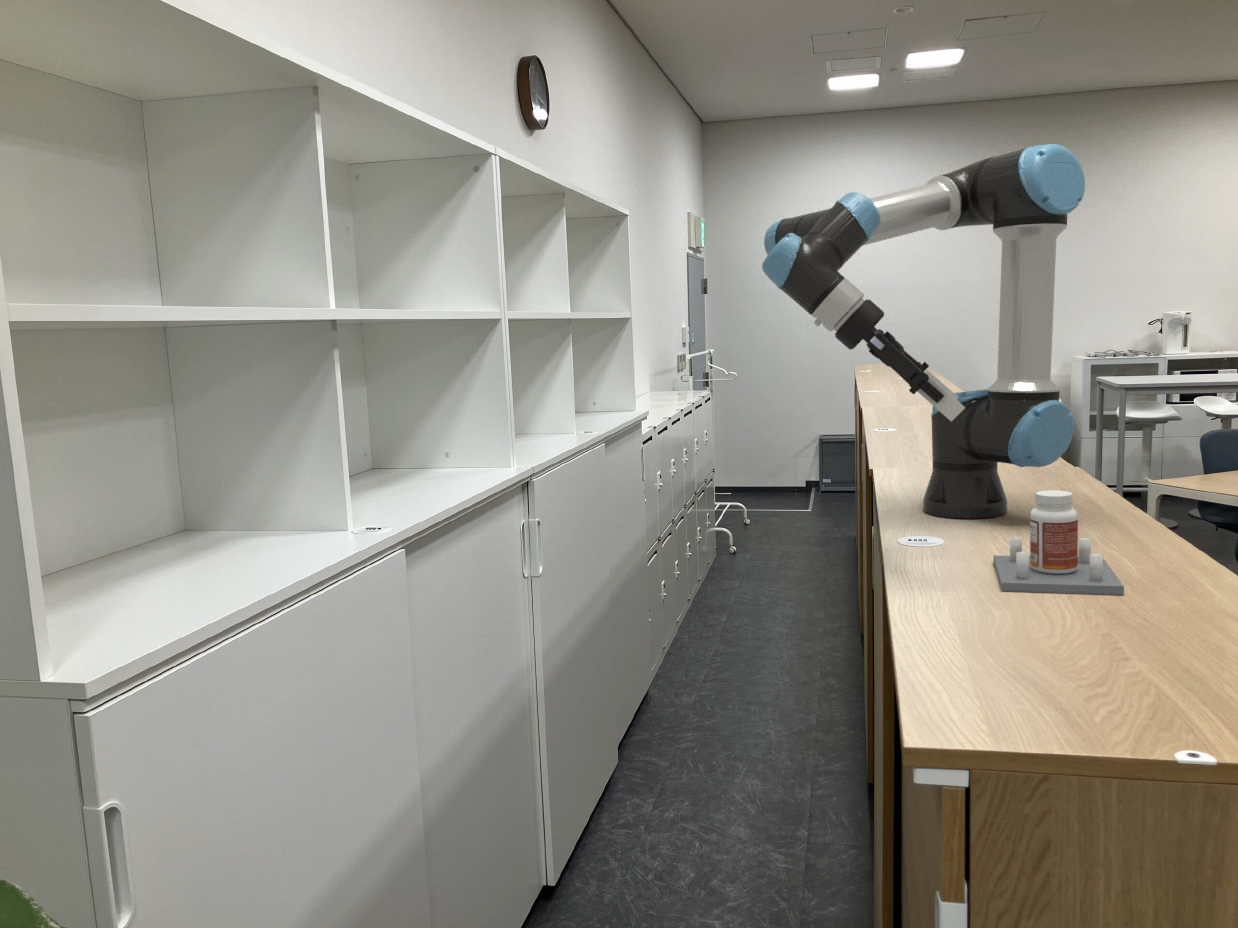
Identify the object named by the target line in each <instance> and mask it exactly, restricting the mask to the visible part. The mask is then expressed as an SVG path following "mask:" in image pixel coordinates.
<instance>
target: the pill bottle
mask: <svg viewBox="0 0 1238 928" xmlns="http://www.w3.org/2000/svg"><path fill="white" fill-rule="evenodd" d="M1035 503H1036V504H1037V506H1036V507H1034V508H1032V509H1031V511H1030V513H1029V544H1030V545H1029V546H1030V547H1029V552H1030V553H1029V556H1030V566H1031V568H1032V569H1033V570H1035V571H1037V572H1042V573H1049V574H1068V573H1072V572H1074V571H1076V570H1077V567H1078V554H1079V535H1078V534H1079V516H1078V512H1077V510H1076V509H1074V508H1073V507H1071V505H1072V504H1073V493H1072V492H1070V491H1066V490H1053V489H1052V490H1049V489H1048V490H1040V491H1037V492H1036V493H1035Z"/></svg>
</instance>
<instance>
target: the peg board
mask: <svg viewBox="0 0 1238 928" xmlns="http://www.w3.org/2000/svg"><path fill="white" fill-rule="evenodd" d="M1009 539H1010V541H1009V555H997V554H994V555H993V565H994V570H995V574H996V576H997V579H998V585H999V586H1000V590H1001V592H1014V593H1015V592H1018V593H1019V592H1020V593H1045V594H1046V593H1047V594H1048V593H1050V594H1051V593H1052V594H1075V595H1076V594H1078V595H1079V594H1080V595H1084V594H1085V595H1107V596H1108V595H1109V596H1124V595H1125V594H1124V593H1125V592H1124V591H1125V586H1124V584H1123V583H1122V582H1121V580H1120V579H1119V577H1118V576H1117V575H1116V573H1115V572H1114V571H1113V569H1112V568H1111V567H1110V565H1109V564H1108V562H1107V561H1106V560H1105V559H1104V555H1103V553H1098V552H1097V553H1096V552H1092V538H1089V537H1078V567H1077V570H1076V571H1074V572H1072V573H1068V574H1049V573H1042V572H1037V571H1035V570H1033V569H1032V568H1031V566H1030V553H1029V552H1028V551H1023V537H1022V536H1010V537H1009Z"/></svg>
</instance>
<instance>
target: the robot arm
mask: <svg viewBox="0 0 1238 928" xmlns="http://www.w3.org/2000/svg"><path fill="white" fill-rule="evenodd" d="M1085 189H1086V179H1085V172H1084V169H1083V167H1082V165H1081V162H1080V161H1079V160H1078V158H1076V157H1075V154H1074V153H1073V152H1072V151H1071V150H1070V149H1069V148H1067V147H1065V146H1063V145H1060V144H1056V143H1049V144H1048V143H1047V144H1042V145H1031V146H1028V147H1026V148H1022V149H1019V150H1015V151H1012V152H1007V153H1004V154H1000V155H996V156H991V157H987V158H983V159H981V160H979V161H975V162H974V163H971V164H968V165H966V166H964V167H960V168H959V169H955V170H953V171H950V172H948V173H944V174H940V175H937V176H934V177H932V178H931V179H929V180H928V181H927V183H926V184H924V185H919V186H916V187H915V186H914V187H912V188H908V189H903V190H899V191H895V192H892V193H887V194H882V195H879V196H875V197H871V198H869V197H868V196H866V195H865V194H863V193H861V192H857V191H853V192H851V191H849V192H848V193H846V194H844V195H843V196H842V197H841V198H840V199H838V200H836V202H835V203H834V204H833V206H832V207H829V208H826V209H822V210H819V211H815V212H810V213H807V214H803V215H798V216H793V217H786V218H783V219H780V220H777V221H775V222H773V223H772V224H771V225H770V226H768V228H767V230H766V232H765V235H764V239H763V245H764V250H765V253H766V254H767V255H766V257H765V258H764V260H763V262H762V265H761V268H762V269H761V270H762V272H763V273H764V274H765V275H766V276H767V278H768V279H769V280H770V281H771V282H772V283H773V284H774V285H775V286H776V287H777V289H779V290H781V291H783V292H784V293H785V295H787V296H788V297H789V298H791V299H792V300H793V301H794V302H795V303H797V305H799V306H800V308H802V309H803V310H804V311H806V312H807V313H808V315H810V316H811V317H813V318H815V320H814V322H813V324H814V325H815V326H816V327H819V326H820V325H821V324H822V326H823V327H824V328H825V329H826V330H827V331H828V332H833V331H835V333H834V336H835V338H836V339H837V340H838V341H839V342H840V343H841V344H842V345H844V346H845V347H846V348H847V349H849V350H853V349H855V348H856V347H857V346H858V345H859V344H860V343H861V342H862V341H865V342H866V346H867V349H869V350H868V352H869V353H870V354H871V355H872V356H873V357H874V358H876V359H878V360H879V361H881V363H883V364H884V366H887V367H888V368H891V369H892V370H893V371H894V372H895V373H896V374H898V376H899V377H901V378H902V379H903V380H904V381H905V382H906V383H907V384H908V386H909V387H910V389H908V391H909V392H910V394H912V395H915V394H916V393H919V395H921V396H922V397H923V398H924V399H925V400H926V401H927V402H928V403H930V405H931V406H932V409H931V410H932V413H931V415H930V417H931V445H932V447H931V449H932V451H931V452H932V454H931V455H932V473H931V475H930V478H929V481H928V484H927V486H926V491H925V494H924V496H923V501H922V502H923V503H922V505H923V507H922V509H923V510H922V511H923V512H924V513H926V514H929V515H932V516H937V517H942V518H951V519H952V518H953V519H984V518H985V519H986V518H992V517H999V516H1002V515H1005V514H1007V513H1008V499H1007V495H1006V493H1005V490H1004V487H1003V484H1002V480H1001V478H1000V475H999V472H998V463H1000V464H1001V463H1003V464H1008V465H1014V466H1017V467H1019V468H1020V467H1021V468H1026V467H1027V468H1029V467H1031V468H1043V467H1046V466H1049V465H1052V464H1053V463H1055V462H1057V461H1058V460H1059V459H1060V458H1061V456H1062V455H1063V454H1065V452H1066V451H1067V450H1068V448H1069V446H1070V444H1071V442H1072V439H1073V435H1074V429H1075V421H1074V415H1073V414H1072V413H1071V412H1070V411H1071V410H1070V408H1069V407H1068V406H1067V405H1066V404H1064V402H1061V401H1060V395H1061V394H1060V388H1059V387H1058V385H1056V384H1055V383H1054V382H1053V380H1052V378H1051V377H1052V376H1051V375H1052V373H1051V371H1052V354H1053V353H1052V352H1053V350H1052V349H1053V331H1054V330H1053V329H1054V307H1055V306H1054V303H1055V281H1056V280H1055V279H1056V257H1057V238H1058V237H1059V236H1060V234H1062V233H1063V232H1064V231H1065V230H1066V229H1067V228H1068V214H1069V213H1070V214H1071V212H1073V211H1074V210H1075V209H1077V208H1078V206H1079V205H1080V204H1079V203H1080V202H1082V200H1083V198H1084V196H1085V191H1086V190H1085ZM985 225H986V226H989V225H991V226H992V233H993V234H994V235H995V236H996V237H998V238H999V240H1001V258H1000V259H1001V261H1000V262H1001V264H1000V287H999V288H1000V289H999V290H1000V293H999V315H998V316H999V319H998V320H999V321H998V346H997V348H998V349H997V371H996V372H997V374H996V376H997V377H996V380H995V381H994V382H993V383H992V384H991V385H990V386H989V387H988V388H987V389H986V388H985V389H979V390H967V391H960V392H959V391H958V392H954V391H953V390H952V389H950V388H949V387H948V386H946V384H945V383H943V382H942V381H941V380H940V379H939V378H938V377H936V375H934V374H933V373H932V372H931V371H930V370H928V368H929V367H930V365H929V364H928V363H927V362H926V361H924V362H923V363H921V362H919V361H917V359H915V358H914V357H913V356H912V355H911V354H909V353H908V352H907V351H906V350H905V349H904V348H905V347H904V346H903V345H902V344H901V343H900V342H899V341H897V340H896V337H895V336H894V335H893V334H892V333H890V332H889V331H887V330H886V331H885V332H884V331H883V329H880V328H877V327H876V325H877V324H879V322H880V321H881V320H882V319H883V318H884V316H885V312H884V311H883V310H882V309H881V308H880V307H879V306H878V305H876V304H875V302H874V301H872V300H871V299H869V298H868V299H867V298H866V299H864V297H865V295H864V292H863V291H861V290H860V289H859V288H858V287H857V286H855V285H854V284H853V283H852V282H851V281H850V280H848V279H847V278H846V277H845V276H843V275H842V274H841V273H840V269H842V267H843V266H844V265H845V264H846V263H847V262H848V261H849V260H850V259H851V258H852V257H853V256H854V255H855V254H856V253H857V252H858V251H859V250H860V248H861V247H864V246H866V245H871V244H873V243H878V242H881V241H886V240H891V239H893V238H897V237H900V236H901V237H902V236H904V235H910V234H913V233H916V232H921V231H925V230H928V229H932V228H934V229H935V230H936V229H937V230H939V231H946V230H949V229H950V230H951V229H954V228H962V227H969V226H973V227H974V226H985Z"/></svg>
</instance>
